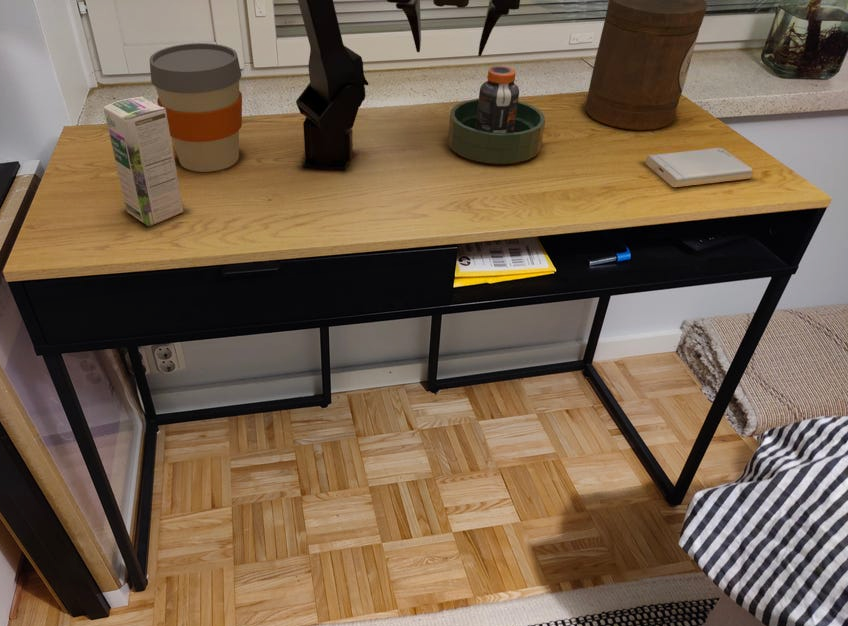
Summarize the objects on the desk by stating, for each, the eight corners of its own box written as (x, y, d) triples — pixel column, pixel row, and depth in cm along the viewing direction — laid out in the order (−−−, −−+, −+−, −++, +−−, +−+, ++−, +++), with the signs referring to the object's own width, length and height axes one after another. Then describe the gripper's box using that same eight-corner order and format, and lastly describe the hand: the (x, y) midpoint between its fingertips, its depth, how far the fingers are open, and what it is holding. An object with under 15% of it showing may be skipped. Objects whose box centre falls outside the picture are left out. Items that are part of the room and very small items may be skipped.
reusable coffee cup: (151, 170, 105) (129, 66, 95) (191, 136, 114) (175, 39, 104) (228, 182, 102) (214, 76, 92) (263, 147, 111) (253, 47, 101)
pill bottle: (510, 153, 109) (521, 78, 101) (472, 149, 109) (480, 75, 102) (512, 137, 113) (523, 64, 106) (475, 134, 114) (483, 61, 106)
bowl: (445, 163, 107) (447, 131, 104) (450, 125, 118) (452, 95, 114) (541, 169, 105) (547, 137, 102) (537, 130, 116) (542, 100, 113)
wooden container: (691, 126, 118) (736, -20, 103) (610, 134, 115) (645, -14, 101) (645, 94, 129) (680, -42, 114) (570, 101, 126) (596, -38, 112)
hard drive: (720, 146, 108) (647, 153, 106) (754, 169, 102) (677, 177, 100) (716, 156, 109) (644, 163, 107) (750, 180, 103) (674, 188, 101)
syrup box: (125, 212, 95) (99, 105, 86) (163, 197, 98) (142, 93, 89) (147, 227, 92) (123, 119, 83) (186, 212, 95) (166, 105, 86)
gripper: (382, -58, 91) (379, 67, 101) (528, -51, 89) (511, 76, 99) (394, -73, 99) (390, 43, 110) (528, -67, 97) (511, 51, 107)
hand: (448, 53), depth 106 cm, fingers open, 9 cm apart
